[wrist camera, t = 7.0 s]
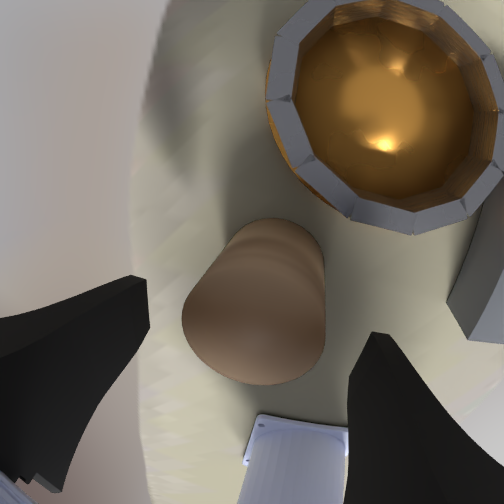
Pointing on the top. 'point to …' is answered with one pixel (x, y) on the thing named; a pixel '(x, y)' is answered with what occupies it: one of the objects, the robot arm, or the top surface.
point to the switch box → (483, 276)
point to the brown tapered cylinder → (260, 305)
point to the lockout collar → (388, 111)
